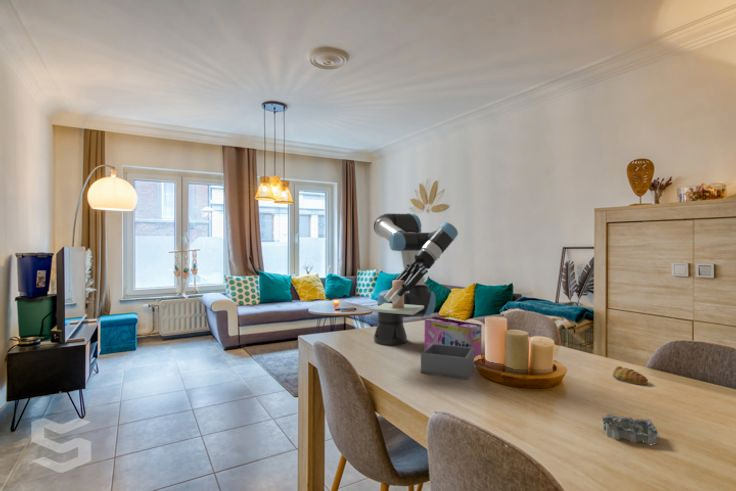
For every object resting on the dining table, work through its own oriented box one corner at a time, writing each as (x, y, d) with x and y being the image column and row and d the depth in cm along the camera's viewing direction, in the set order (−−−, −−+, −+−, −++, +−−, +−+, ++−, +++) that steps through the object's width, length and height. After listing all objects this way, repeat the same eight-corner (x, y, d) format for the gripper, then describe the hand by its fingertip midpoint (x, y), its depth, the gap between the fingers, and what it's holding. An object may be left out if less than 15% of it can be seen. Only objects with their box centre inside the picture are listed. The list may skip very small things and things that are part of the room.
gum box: (421, 350, 164) (421, 318, 164) (432, 346, 170) (432, 315, 169) (471, 363, 147) (471, 327, 146) (482, 359, 152) (482, 324, 152)
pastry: (651, 383, 127) (651, 372, 127) (641, 388, 123) (641, 376, 123) (620, 375, 135) (620, 364, 135) (610, 378, 131) (610, 367, 131)
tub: (431, 361, 149) (431, 343, 149) (474, 367, 143) (474, 347, 143) (420, 373, 137) (420, 353, 136) (467, 379, 130) (467, 358, 130)
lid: (385, 305, 157) (385, 278, 156) (424, 308, 150) (424, 279, 150) (371, 311, 144) (371, 281, 144) (413, 314, 137) (413, 283, 137)
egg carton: (605, 440, 92) (605, 422, 92) (601, 425, 99) (601, 409, 99) (660, 449, 87) (660, 430, 87) (652, 433, 94) (652, 416, 94)
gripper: (446, 263, 144) (406, 311, 138) (422, 261, 160) (386, 303, 155) (433, 249, 142) (392, 297, 136) (411, 248, 158) (373, 291, 152)
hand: (389, 300), depth 145 cm, fingers closed on lid, 4 cm apart
